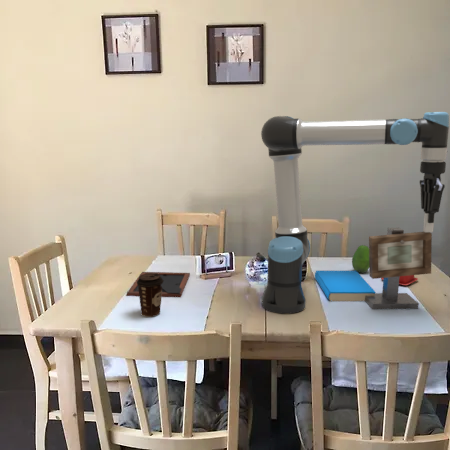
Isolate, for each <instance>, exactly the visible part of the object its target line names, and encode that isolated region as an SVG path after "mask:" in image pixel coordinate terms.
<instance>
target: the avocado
mask: <svg viewBox="0 0 450 450" xmlns="http://www.w3.org/2000/svg"><path fill="white" fill-rule="evenodd" d="M351 265H352V269H353V271H357V272H358V273H359V274H360V273H361V274H362V273H366V272H367V271H368V270H369V246H367V245H365V244H362V245H358V247H357V248H356V250H355V252H354V253H353V255H352V259H351Z"/></svg>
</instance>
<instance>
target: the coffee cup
mask: <svg viewBox="0 0 450 450" xmlns="http://www.w3.org/2000/svg"><path fill="white" fill-rule="evenodd" d="M138 277H139V279H138V281H137V285H138V290H139V296H138V297H139V305H140V315H141V316H142V317H145V318H146V317H148V318H149V317H151V318H152V317H156V316H159V315H160V314H161V306H162V305H161V304H162V297H161V296H162V286H161V284H162V283H163V279H162V277H160V275H159V274H157V273H154V274H153V273H147V274H143V275H141V276H140V275H139V276H138Z"/></svg>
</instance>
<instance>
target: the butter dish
mask: <svg viewBox="0 0 450 450" xmlns="http://www.w3.org/2000/svg"><path fill="white" fill-rule="evenodd" d="M383 279H384V278H380V280H382V281H383ZM418 280H419V278H418V277H415V275H409V276H400V277H399V286H400V285H401V286H409V285H410V284H412V283H415V282H416V281H418Z"/></svg>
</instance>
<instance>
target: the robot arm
mask: <svg viewBox="0 0 450 450" xmlns="http://www.w3.org/2000/svg"><path fill="white" fill-rule="evenodd" d="M449 125H450V115H449V113H448V112H446V111H433V112H431V111H430V112H428V111H427V112H424V114H423V117H422V118H407V117H406V118H391V119H390V118H388V119H386V118H385V119H354V120H351V119H347V120H315V121H314V120H312V121H311V120H310V121H304V120H302V119H301V118H294V117H291V116H287V115H286V116H285V115H282V116H281V115H279V116H272V117H270V118H269V119H268V120H267V121H265V123H264V124H263V126H262V128H261V132H260V135H261V140H262V142H263V143H262V144H264V146H265V147H267V149H268V157H269V158H270V159H271V160H272V161H273V168H274V169H273V170H274V182H275V183H274V185H275V194H276V195H275V196H276V207H277V208H276V210H277V220H278V227H277V228H276V229H274V230H275V231H274V233H275V234H274V238H272V239H271V240H270V241H269V244H268V248H267V284H266V286H265V288H264V291H263V295H262V297H261V306H262V307H263V309H265V310H267V311H269V312H271V313H276V314H284V313H289V314H296V313H295V312H297V313H300V312H302V311H304V310H305V309H306V305H307V304H306V303H307V302H306V298H305V295H304V289H303V286H302V275H303V274H302V273H303V265H304V263H305V261H306V260H307V259H308V257H309V255H310V252H311V243H310V240H309V238H308V229H307V227H306V226H304V225H303V216H302V214H303V212H302V201H301V189H300V188H301V185H300V184H301V183H300V171H299V158H300V156H301V155H302V153H303V150H302V147H304V146H354V145H355V146H359V145H360V146H361V145H363V146H364V145H365V146H366V145H399V146H406V145H409V144H411V143H421V148H420V149H421V152H420V160H421V162H420V168H419V172H420V173H421V174H423V179H420V180H419V186H420V206H421V207H420V208H421V210H423V212H424V214H423V215H424V216H423V228H422V232H430V233H434V225H435V214H436V213H439V211H440V207H441V206H440V205H441V201H442V198H443V196H442V195H443V192H444V189H445V187H446V186H445V184H442V183H441V181H442V178H441V175H442V174H445V173H446V167H447V166H446V165H447V163H446V160H447V153H448V150H447V149H448V141H449V129H450V126H449ZM304 308H305V309H304ZM303 309H304V310H303ZM299 311H300V312H299Z"/></svg>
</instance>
